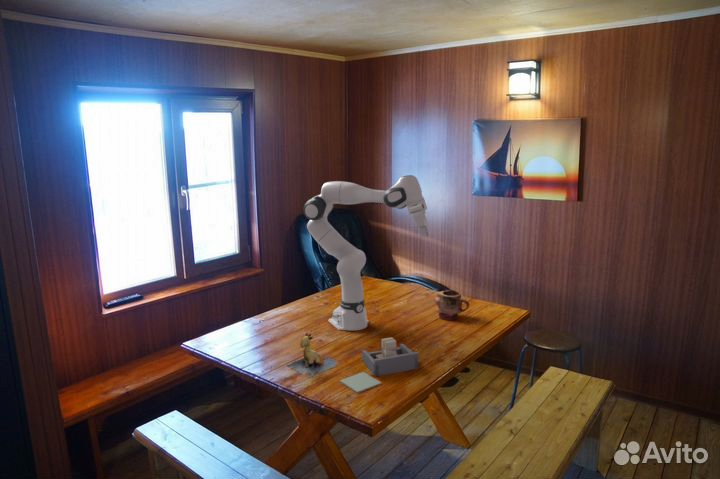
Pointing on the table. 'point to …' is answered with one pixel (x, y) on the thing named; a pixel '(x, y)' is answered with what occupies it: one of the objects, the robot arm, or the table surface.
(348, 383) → the mat
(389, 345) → the block
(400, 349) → the nook
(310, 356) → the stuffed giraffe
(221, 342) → the table surface
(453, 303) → the brown ceramic mug
